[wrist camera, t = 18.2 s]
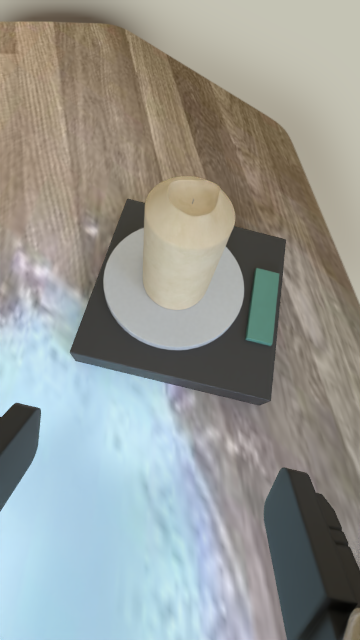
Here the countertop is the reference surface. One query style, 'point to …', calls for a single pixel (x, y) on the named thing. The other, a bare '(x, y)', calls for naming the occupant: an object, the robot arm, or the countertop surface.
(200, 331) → the kitchen scale
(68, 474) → the countertop surface
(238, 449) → the countertop surface
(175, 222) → the candle
